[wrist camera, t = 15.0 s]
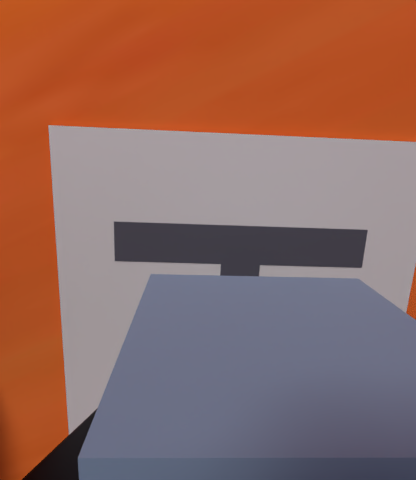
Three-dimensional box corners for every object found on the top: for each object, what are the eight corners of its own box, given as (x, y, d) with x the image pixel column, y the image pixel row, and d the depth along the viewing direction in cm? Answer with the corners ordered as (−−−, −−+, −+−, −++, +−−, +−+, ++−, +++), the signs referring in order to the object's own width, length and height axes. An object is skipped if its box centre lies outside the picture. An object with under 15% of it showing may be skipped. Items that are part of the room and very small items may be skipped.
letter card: (435, 143, 10) (439, 143, 10) (372, 476, 12) (374, 480, 12) (50, 125, 9) (47, 125, 9) (73, 476, 12) (71, 481, 12)
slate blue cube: (333, 449, 9) (487, 771, 4) (151, 449, 9) (99, 787, 4) (358, 278, 8) (606, 457, 3) (150, 274, 8) (77, 457, 3)
